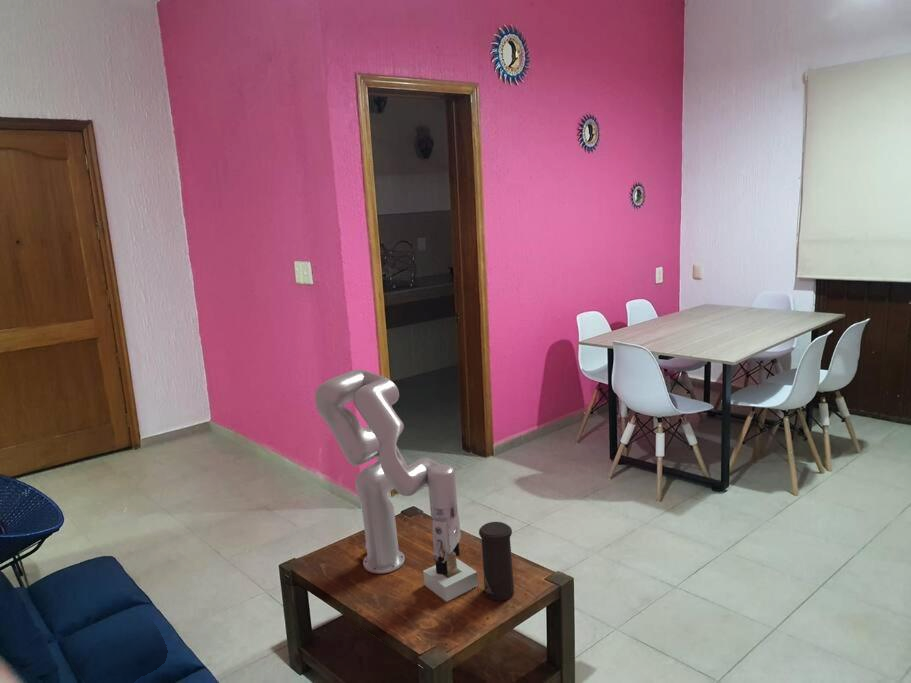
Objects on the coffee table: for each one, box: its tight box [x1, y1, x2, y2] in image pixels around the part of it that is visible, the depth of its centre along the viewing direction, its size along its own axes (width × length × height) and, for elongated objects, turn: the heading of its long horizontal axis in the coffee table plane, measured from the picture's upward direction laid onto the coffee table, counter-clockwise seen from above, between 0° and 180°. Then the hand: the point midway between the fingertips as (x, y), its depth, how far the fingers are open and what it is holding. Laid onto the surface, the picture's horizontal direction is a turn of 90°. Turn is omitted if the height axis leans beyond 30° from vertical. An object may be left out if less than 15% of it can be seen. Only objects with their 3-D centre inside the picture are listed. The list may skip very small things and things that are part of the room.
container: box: [478, 521, 515, 602], centre depth 187 cm, size 9×9×20 cm
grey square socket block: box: [422, 557, 479, 603], centre depth 194 cm, size 11×11×4 cm
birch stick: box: [440, 551, 457, 578], centre depth 193 cm, size 3×3×9 cm
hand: (448, 564), depth 193 cm, fingers open, 9 cm apart
